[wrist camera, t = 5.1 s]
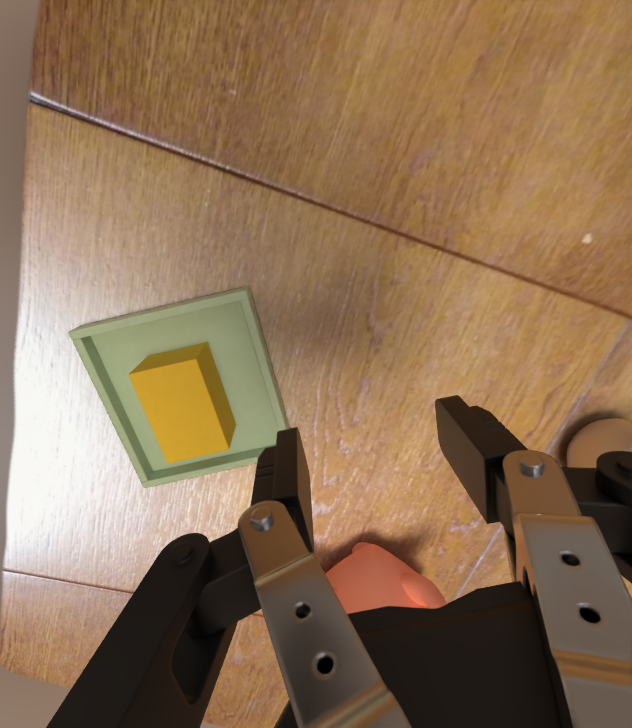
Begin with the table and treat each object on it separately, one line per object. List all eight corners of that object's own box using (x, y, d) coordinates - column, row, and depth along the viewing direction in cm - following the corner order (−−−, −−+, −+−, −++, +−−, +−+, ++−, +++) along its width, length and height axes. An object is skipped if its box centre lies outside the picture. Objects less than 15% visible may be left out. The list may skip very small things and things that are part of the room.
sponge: (147, 355, 27) (127, 374, 24) (207, 341, 27) (196, 358, 24) (181, 437, 30) (167, 464, 27) (236, 424, 30) (229, 450, 26)
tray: (81, 325, 27) (67, 332, 25) (248, 285, 26) (245, 290, 25) (151, 475, 32) (143, 488, 30) (294, 443, 31) (294, 455, 30)
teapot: (410, 627, 40) (446, 754, 31) (297, 628, 39) (298, 758, 30) (434, 520, 35) (485, 632, 26) (305, 519, 34) (310, 633, 25)
